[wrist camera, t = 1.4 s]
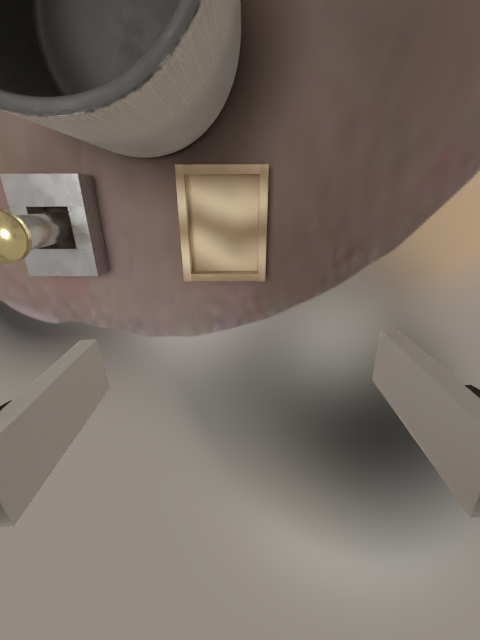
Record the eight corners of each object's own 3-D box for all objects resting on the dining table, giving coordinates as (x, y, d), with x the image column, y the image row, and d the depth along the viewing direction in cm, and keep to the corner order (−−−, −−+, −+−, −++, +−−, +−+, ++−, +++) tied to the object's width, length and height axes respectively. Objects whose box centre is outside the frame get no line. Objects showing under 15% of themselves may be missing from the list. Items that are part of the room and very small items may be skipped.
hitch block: (21, 176, 36) (-1, 173, 33) (92, 175, 36) (77, 173, 33) (46, 269, 41) (29, 276, 38) (109, 269, 41) (97, 276, 38)
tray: (178, 166, 36) (174, 164, 34) (267, 166, 36) (268, 164, 34) (187, 276, 41) (184, 281, 39) (263, 276, 41) (265, 281, 39)
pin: (44, 205, 38) (-38, 209, 27) (82, 205, 38) (15, 209, 27) (54, 244, 40) (-19, 263, 29) (90, 244, 40) (31, 263, 29)
